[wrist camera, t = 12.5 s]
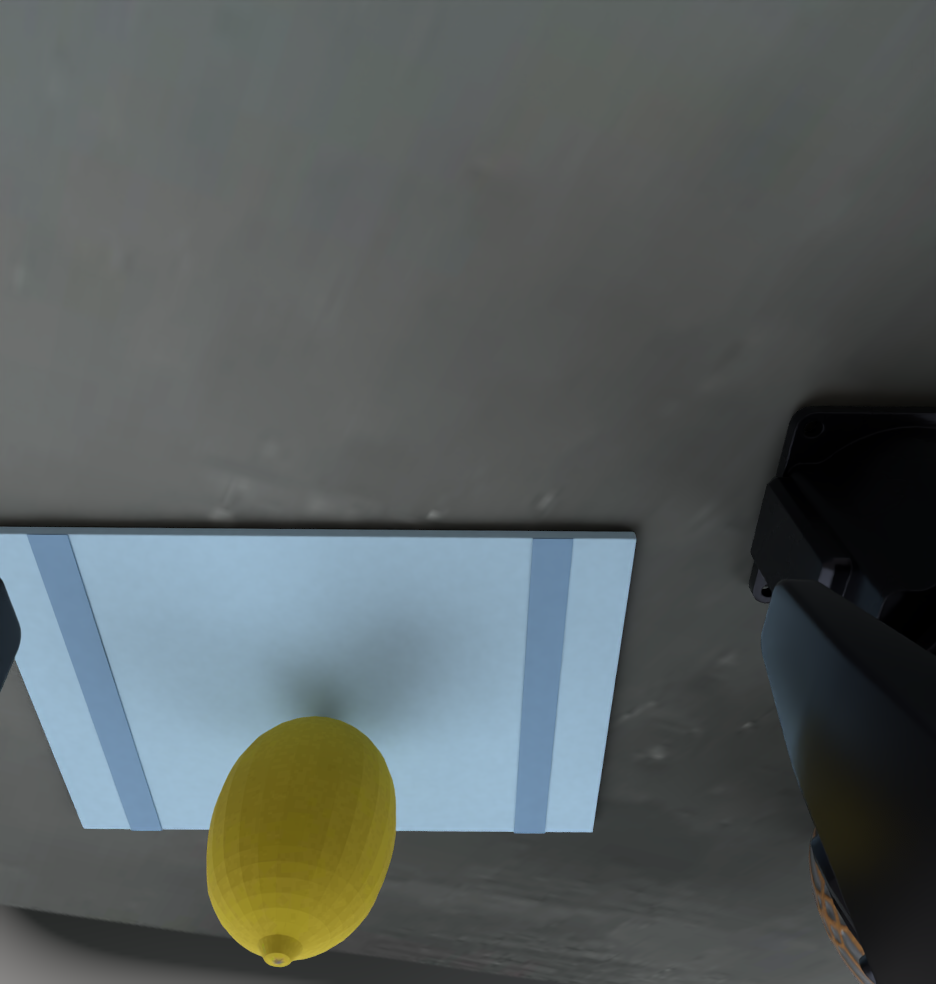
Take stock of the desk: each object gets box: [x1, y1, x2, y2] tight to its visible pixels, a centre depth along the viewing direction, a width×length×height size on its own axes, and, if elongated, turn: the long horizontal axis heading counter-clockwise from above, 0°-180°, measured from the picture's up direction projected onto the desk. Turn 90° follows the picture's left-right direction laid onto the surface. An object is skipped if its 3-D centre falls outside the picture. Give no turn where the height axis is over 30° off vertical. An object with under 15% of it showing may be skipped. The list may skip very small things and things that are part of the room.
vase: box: [809, 828, 874, 984], centre depth 26 cm, size 7×7×9 cm
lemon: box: [207, 716, 396, 967], centre depth 23 cm, size 6×6×8 cm
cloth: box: [0, 527, 637, 833], centre depth 26 cm, size 20×14×1 cm
